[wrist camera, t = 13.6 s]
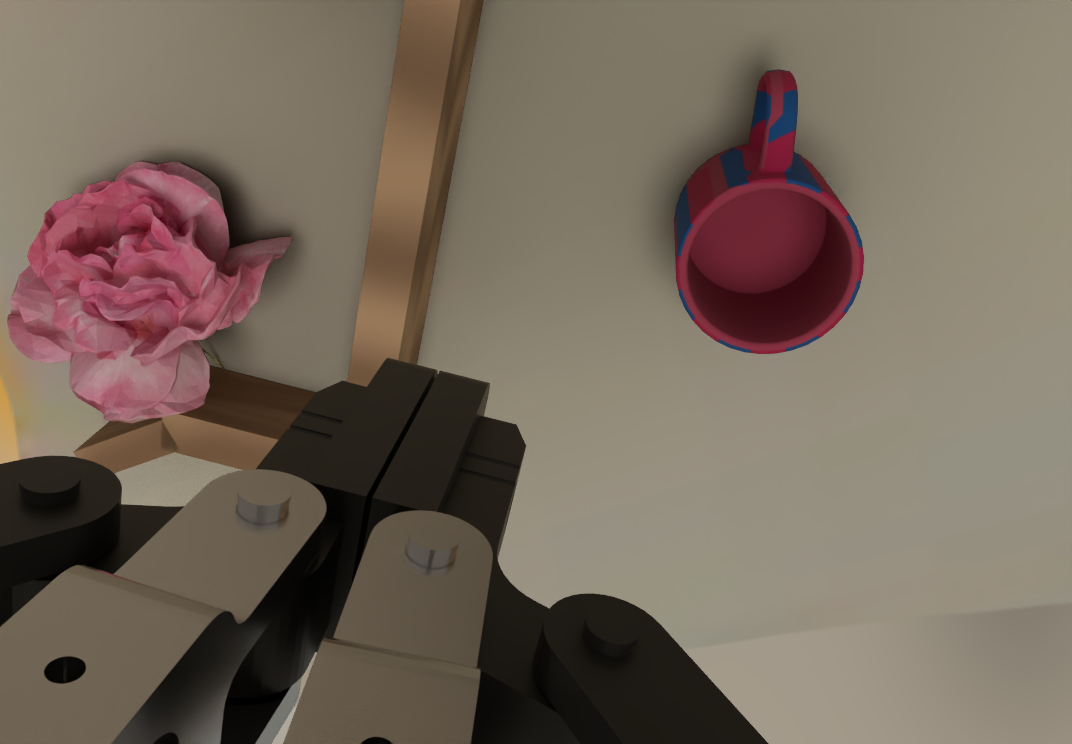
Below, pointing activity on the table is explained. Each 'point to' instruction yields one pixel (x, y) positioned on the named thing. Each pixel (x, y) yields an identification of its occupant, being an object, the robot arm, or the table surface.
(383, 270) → the wooden slat frame
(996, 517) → the table surface
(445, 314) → the table surface
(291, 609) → the robot arm
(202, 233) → the flower
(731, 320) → the cup
